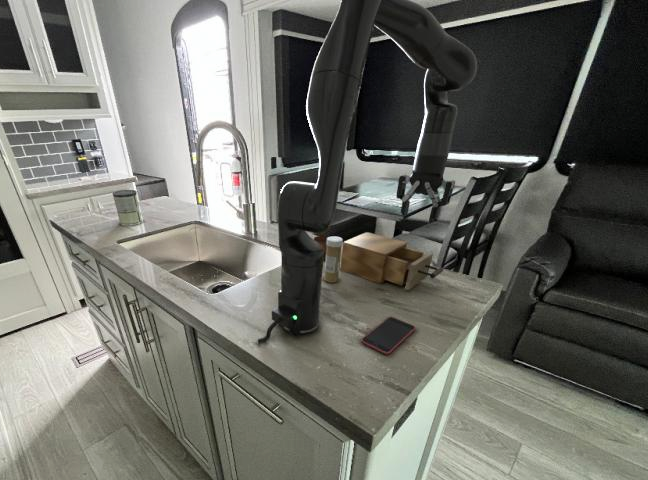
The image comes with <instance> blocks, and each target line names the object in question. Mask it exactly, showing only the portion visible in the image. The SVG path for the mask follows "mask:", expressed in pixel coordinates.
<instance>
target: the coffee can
mask: <svg viewBox="0 0 648 480" xmlns="http://www.w3.org/2000/svg"><path fill="white" fill-rule="evenodd" d="M112 196H113V200H114V204H115V208H116V212H117V215H118V220H119V224H120V225H121V226H125V227H128V226H131V227H132V226H136V225H140V224H142V223H143V222H144V220H143V215H142V212H141V207H140V202H139V198H138V192H137V190H134V189H124V190H117V191H113V192H112Z"/></svg>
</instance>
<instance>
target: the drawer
mask: <svg viewBox="0 0 648 480" xmlns="http://www.w3.org/2000/svg"><path fill="white" fill-rule="evenodd" d="M424 252H425V251H422V250H421V251H420V250H417V249H413V248H409V247H407V246H406V247H402V248H400V249H399V250H397V251H395V252H393V253H391V254H390V255H388V256H386V261H385V267H384V272H383V277H382V279H385V281H387V282H391V283H393V284H396V285H398V286H403V285H405V286H404V289H405V290H407V291H410V290H411V289H413V288H414V287H415V286H417V285H418V284H420V283H421V282H422V281H424V280H425V279H426V278H428V277H429V278H430V279H435V278H436V277H438V276H439V275H440V274H442V273H443V272H444V268H443V267H442V266H441V267H436V266H434V265H433V266H432V265H431V263H432V260H433V256H434V253H433V252H431V251H429V252H427V253H426V254H425V253H424ZM405 257H406V258H410V259H413V260H416V261H415V262H413V263H412V264H411V265H410V269H409V273H408V278H407V282H405V281H404V278H405V274H406V270H407V265H408V262H407V261H403V260H402V259H404V258H405ZM430 270H433V272H430Z"/></svg>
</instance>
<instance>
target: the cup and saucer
mask: <svg viewBox="0 0 648 480" xmlns="http://www.w3.org/2000/svg"><path fill="white" fill-rule="evenodd" d="M328 237H331V236H329V235H317V236H315V237H314V238H313V240H315V241H316V242H318V243H319V244H320V245H321V246H322V247H323V249H324V259H323V260H326V251H327V238H328Z"/></svg>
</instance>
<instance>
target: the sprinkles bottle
mask: <svg viewBox="0 0 648 480" xmlns="http://www.w3.org/2000/svg"><path fill="white" fill-rule="evenodd" d="M343 240H344V239H343V238H342V237H340V236H330V237H328V238H327V251H326V259H325V261H324V262H325V264H324V276H323V280H324V281H325V282H327V283H336V282H339V275H340V269H341V256H342V248H343V242H344V241H343Z"/></svg>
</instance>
